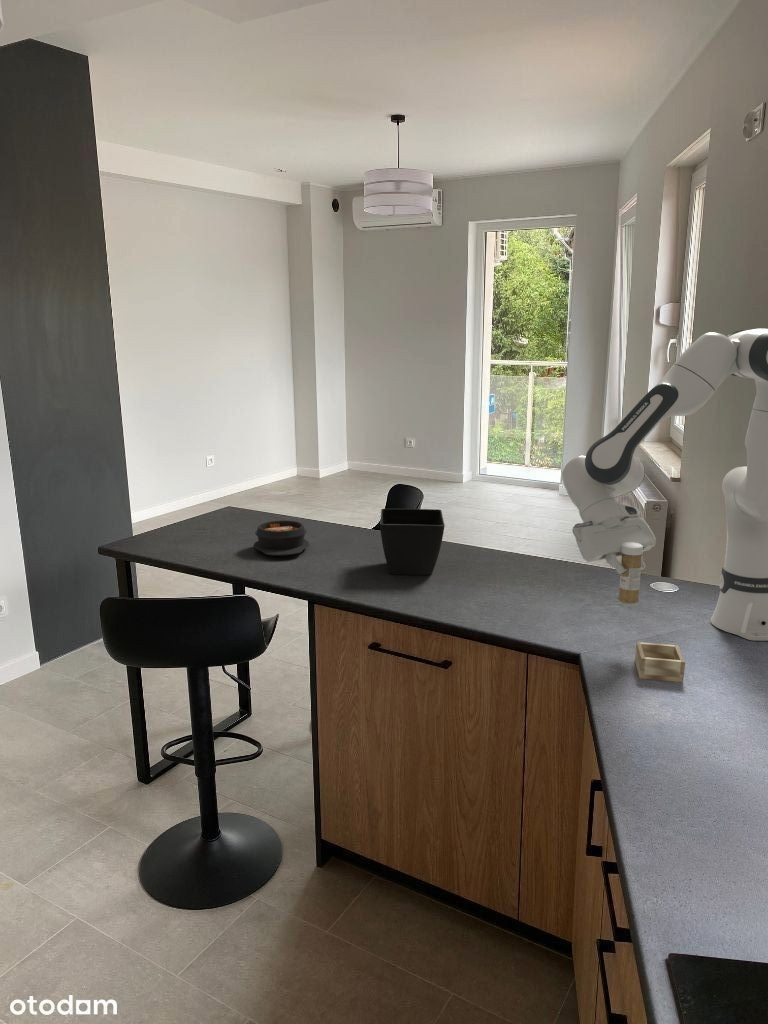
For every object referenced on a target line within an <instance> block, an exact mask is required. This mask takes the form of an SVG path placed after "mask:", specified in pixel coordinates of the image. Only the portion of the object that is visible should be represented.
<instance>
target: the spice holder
mask: <svg viewBox="0 0 768 1024" xmlns="http://www.w3.org/2000/svg"><path fill="white" fill-rule="evenodd" d="M634 653H635V655H634V663H635V666H636V667H635V668H636V670H637V674H638V678H639V679H643V680H654V681H666V682H674V683H675V682H676V683H684V678H685V669H686V660H685V658H684V655H683V654H682V651H681V648H680V647H679V645H678V644H668V643H667V644H665V643H655V642H654V643H653V642H652V643H651V642H640V641H636V645H635V652H634Z"/></svg>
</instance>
